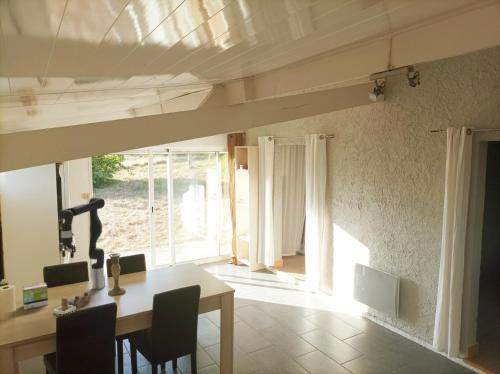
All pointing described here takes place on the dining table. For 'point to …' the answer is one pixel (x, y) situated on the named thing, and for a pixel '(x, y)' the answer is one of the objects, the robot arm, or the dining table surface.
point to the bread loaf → (64, 304)
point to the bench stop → (82, 300)
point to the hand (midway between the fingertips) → (68, 257)
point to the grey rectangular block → (71, 302)
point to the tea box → (35, 295)
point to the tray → (59, 311)
